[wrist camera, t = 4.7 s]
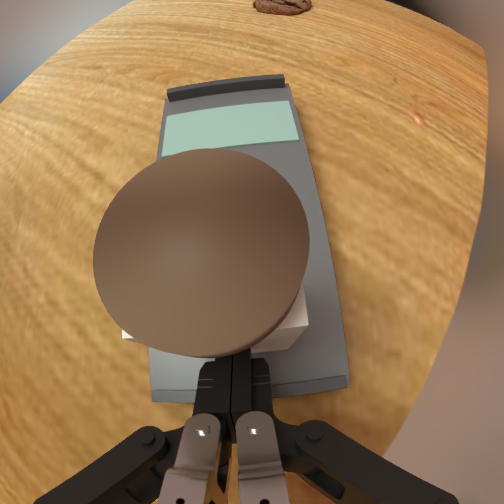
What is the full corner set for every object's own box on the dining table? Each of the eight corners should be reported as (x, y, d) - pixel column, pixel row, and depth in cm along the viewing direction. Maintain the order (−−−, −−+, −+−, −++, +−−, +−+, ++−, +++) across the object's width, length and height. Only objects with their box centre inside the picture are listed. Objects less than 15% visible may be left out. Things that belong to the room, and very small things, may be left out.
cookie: (322, 9, 40) (323, -4, 37) (280, 21, 38) (280, 6, 35) (283, -4, 43) (283, -16, 40) (241, 8, 41) (240, -6, 38)
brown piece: (290, 359, 16) (327, 342, 6) (200, 366, 17) (88, 355, 6) (280, 273, 18) (290, 138, 8) (196, 282, 19) (107, 166, 8)
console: (339, 382, 19) (355, 385, 15) (167, 396, 19) (144, 401, 15) (287, 105, 28) (288, 73, 25) (172, 119, 29) (162, 90, 25)
